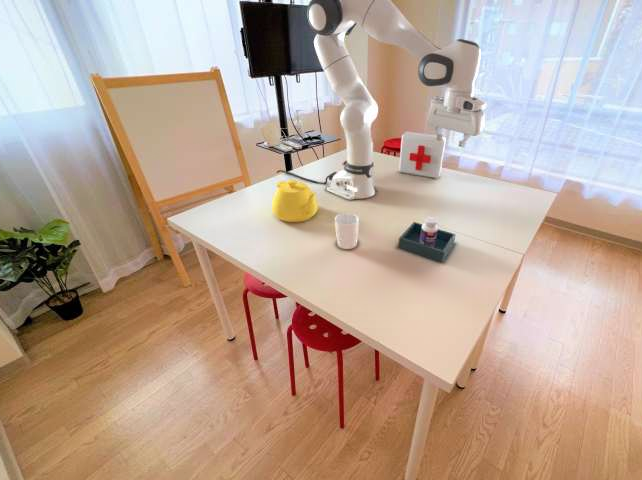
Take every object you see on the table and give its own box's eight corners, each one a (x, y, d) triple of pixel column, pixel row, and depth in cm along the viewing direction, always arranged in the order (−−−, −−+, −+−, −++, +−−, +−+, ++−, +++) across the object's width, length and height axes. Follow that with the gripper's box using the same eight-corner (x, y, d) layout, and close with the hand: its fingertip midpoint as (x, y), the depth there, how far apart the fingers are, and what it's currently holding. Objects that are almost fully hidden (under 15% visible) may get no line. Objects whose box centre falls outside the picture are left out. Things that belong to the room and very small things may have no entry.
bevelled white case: (397, 173, 159) (400, 134, 148) (401, 168, 166) (405, 130, 154) (437, 180, 153) (443, 140, 142) (440, 175, 159) (447, 135, 148)
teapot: (335, 218, 120) (334, 185, 112) (297, 234, 110) (293, 200, 102) (298, 197, 134) (294, 167, 126) (261, 210, 124) (255, 178, 116)
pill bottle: (425, 250, 103) (429, 225, 97) (416, 242, 107) (419, 218, 101) (437, 246, 105) (442, 222, 99) (428, 238, 109) (432, 214, 103)
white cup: (355, 251, 102) (355, 226, 96) (332, 248, 103) (331, 223, 98) (360, 239, 109) (361, 214, 103) (339, 236, 110) (338, 211, 104)
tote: (398, 247, 105) (399, 237, 102) (412, 231, 114) (413, 221, 111) (442, 262, 99) (444, 252, 96) (453, 243, 108) (455, 234, 105)
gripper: (426, 96, 103) (421, 138, 111) (480, 106, 91) (470, 152, 99) (437, 94, 107) (431, 135, 115) (491, 104, 95) (480, 148, 103)
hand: (450, 143), depth 107 cm, fingers open, 8 cm apart
